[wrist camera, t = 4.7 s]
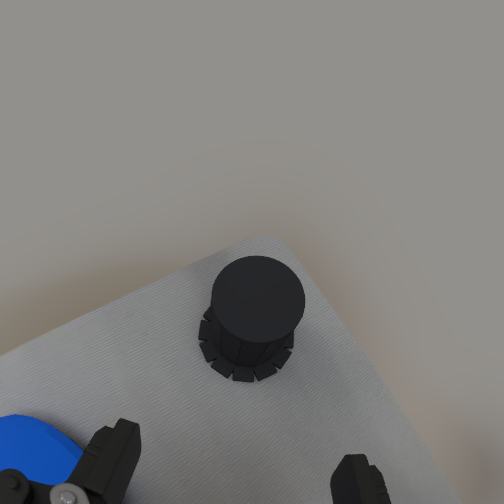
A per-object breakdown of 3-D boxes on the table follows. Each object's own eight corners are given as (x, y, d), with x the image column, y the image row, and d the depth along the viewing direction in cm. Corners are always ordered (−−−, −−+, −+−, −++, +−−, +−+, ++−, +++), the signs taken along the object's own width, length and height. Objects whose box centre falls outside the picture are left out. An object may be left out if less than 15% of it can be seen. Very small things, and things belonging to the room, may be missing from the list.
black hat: (293, 297, 28) (322, 246, 20) (290, 384, 23) (325, 367, 16) (205, 288, 27) (201, 232, 20) (194, 376, 23) (180, 355, 15)
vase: (74, 393, 20) (32, 382, 14) (169, 543, 14) (154, 578, 8) (-24, 437, 15) (-68, 430, 9) (49, 566, 9) (16, 586, 3)
